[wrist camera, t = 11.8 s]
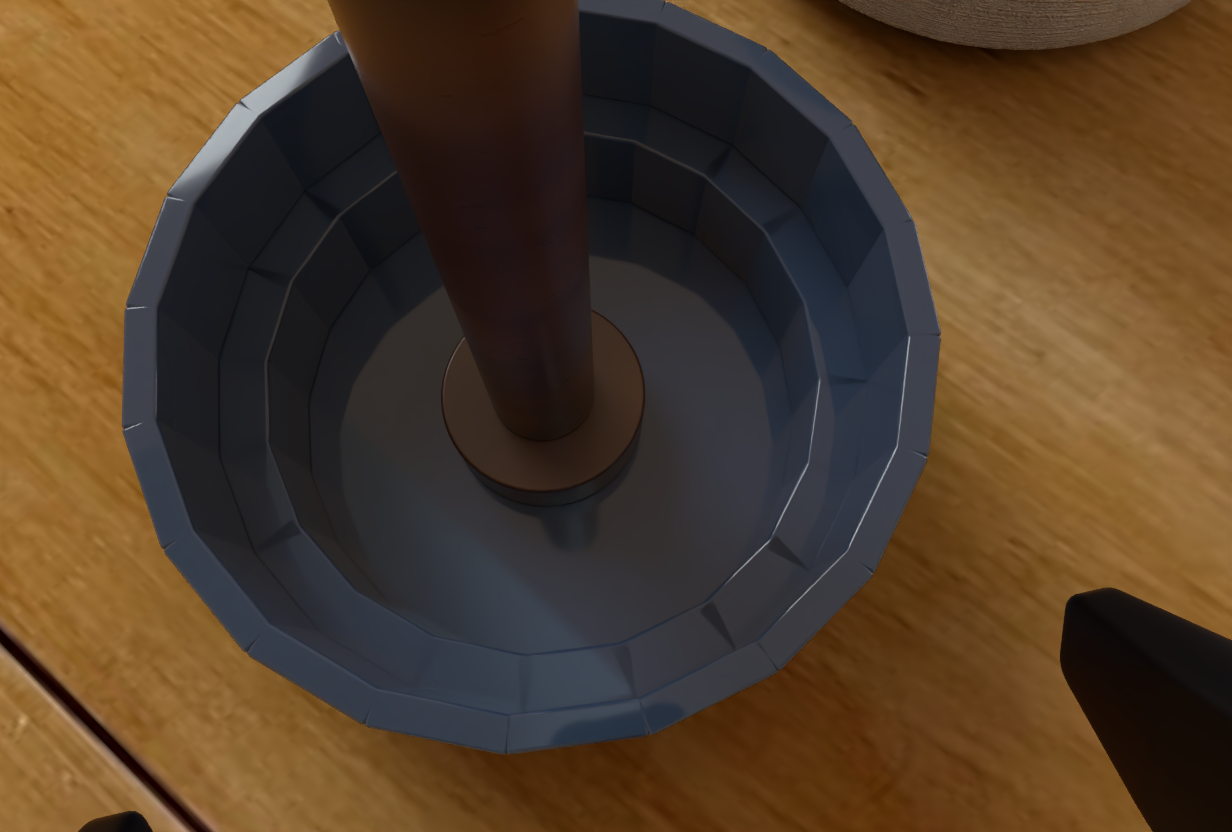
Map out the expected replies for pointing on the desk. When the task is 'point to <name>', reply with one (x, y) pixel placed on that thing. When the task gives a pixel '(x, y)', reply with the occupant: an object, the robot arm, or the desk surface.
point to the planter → (1018, 20)
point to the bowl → (433, 468)
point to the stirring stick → (505, 233)
